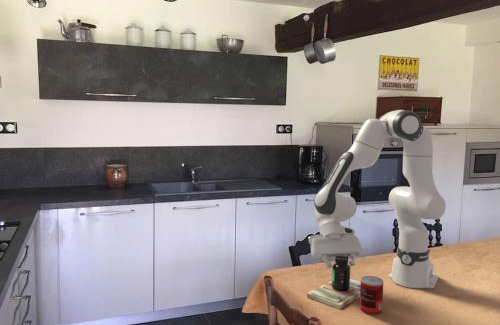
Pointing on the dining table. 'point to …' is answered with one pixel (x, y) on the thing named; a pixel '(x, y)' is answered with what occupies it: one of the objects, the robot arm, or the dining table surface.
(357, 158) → the robot arm
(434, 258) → the dining table surface
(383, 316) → the dining table surface
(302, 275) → the dining table surface
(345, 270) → the supplement bottle
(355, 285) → the tile board
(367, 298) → the canned food
